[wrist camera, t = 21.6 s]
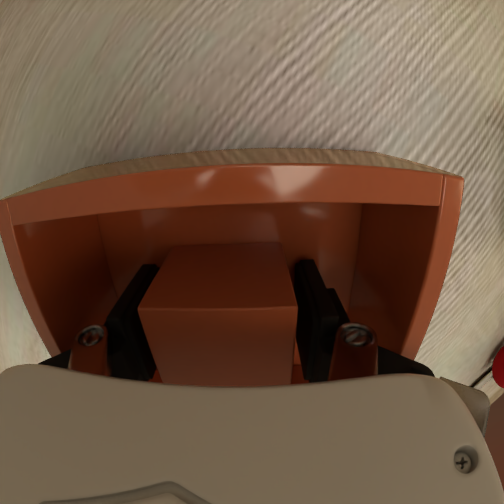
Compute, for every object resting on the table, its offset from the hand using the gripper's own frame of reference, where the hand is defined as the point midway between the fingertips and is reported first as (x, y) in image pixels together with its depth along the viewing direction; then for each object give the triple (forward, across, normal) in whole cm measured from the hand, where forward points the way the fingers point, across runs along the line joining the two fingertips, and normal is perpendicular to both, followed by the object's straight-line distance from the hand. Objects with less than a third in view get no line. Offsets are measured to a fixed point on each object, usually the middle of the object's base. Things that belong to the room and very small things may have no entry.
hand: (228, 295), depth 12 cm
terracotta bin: (+1, 0, 0) cm, 1 cm away
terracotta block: (0, 0, 0) cm, 0 cm away
